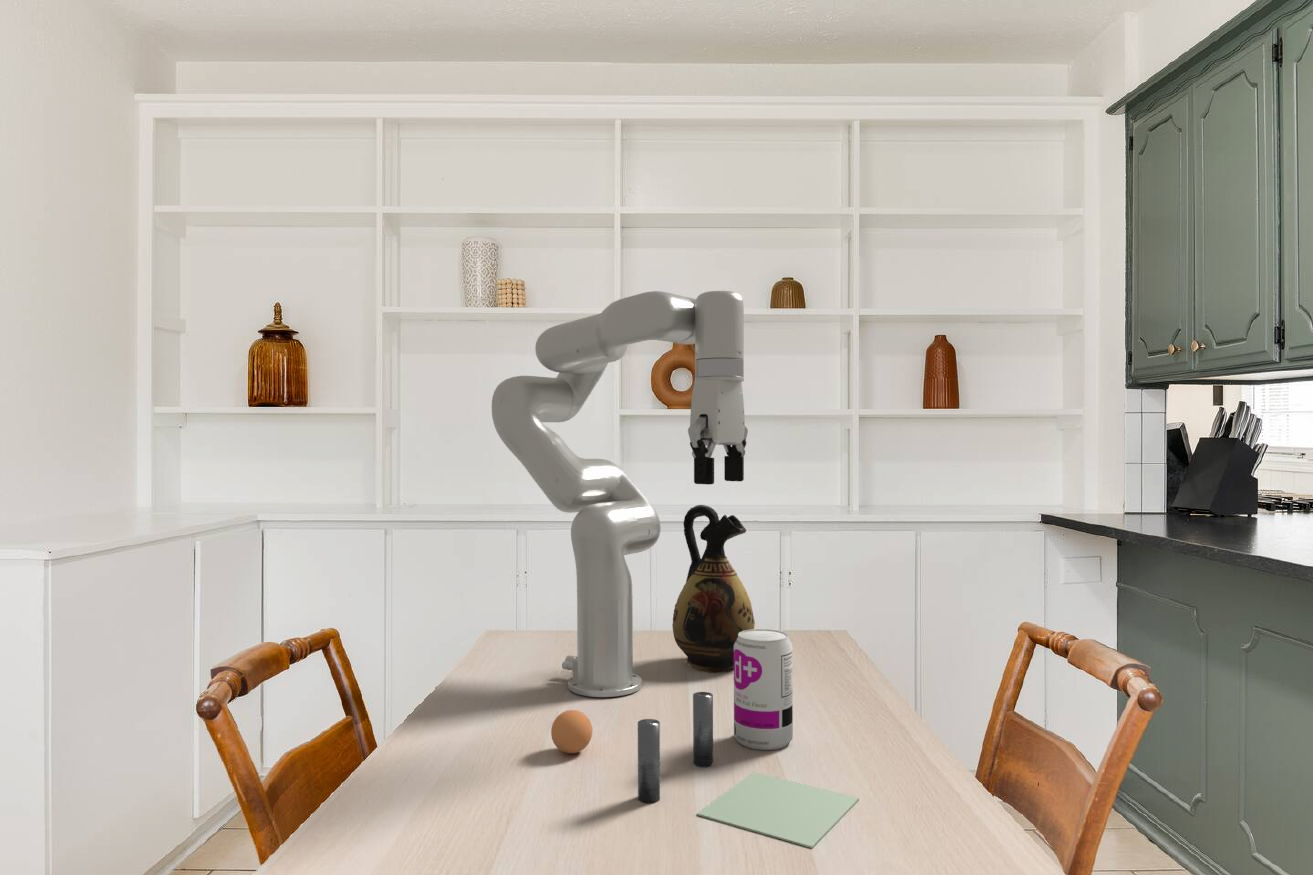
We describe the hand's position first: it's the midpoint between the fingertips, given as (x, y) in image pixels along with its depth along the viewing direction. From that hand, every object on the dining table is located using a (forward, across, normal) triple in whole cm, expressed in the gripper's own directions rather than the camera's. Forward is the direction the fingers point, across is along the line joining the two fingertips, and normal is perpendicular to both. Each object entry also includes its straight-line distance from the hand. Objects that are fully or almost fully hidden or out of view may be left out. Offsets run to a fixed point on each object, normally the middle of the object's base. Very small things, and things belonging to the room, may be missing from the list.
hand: (719, 482), depth 129 cm
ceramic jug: (+36, -23, -15) cm, 45 cm away
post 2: (+36, +19, +8) cm, 41 cm away
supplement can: (+36, +7, +11) cm, 38 cm away
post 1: (+36, +32, +7) cm, 48 cm away
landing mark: (+36, +25, +22) cm, 49 cm away
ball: (+33, +25, -10) cm, 42 cm away
